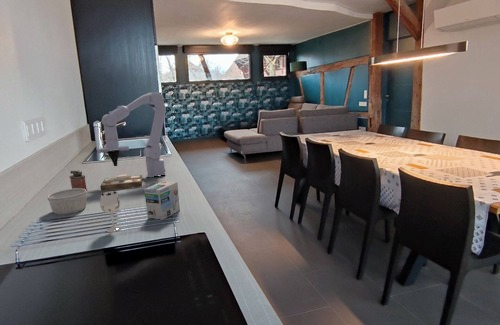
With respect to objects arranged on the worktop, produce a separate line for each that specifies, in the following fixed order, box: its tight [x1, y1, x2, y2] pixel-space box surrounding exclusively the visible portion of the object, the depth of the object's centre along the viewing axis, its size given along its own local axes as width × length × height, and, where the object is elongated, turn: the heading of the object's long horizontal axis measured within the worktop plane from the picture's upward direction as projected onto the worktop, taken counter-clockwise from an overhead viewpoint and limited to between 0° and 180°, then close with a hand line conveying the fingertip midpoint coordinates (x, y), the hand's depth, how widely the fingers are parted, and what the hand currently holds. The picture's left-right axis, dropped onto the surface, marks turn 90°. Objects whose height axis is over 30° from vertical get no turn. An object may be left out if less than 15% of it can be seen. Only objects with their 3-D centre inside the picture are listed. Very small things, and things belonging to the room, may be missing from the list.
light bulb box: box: [143, 180, 181, 221], centre depth 119 cm, size 11×7×11 cm, turn 157°
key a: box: [130, 174, 141, 180], centre depth 167 cm, size 4×4×3 cm
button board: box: [99, 174, 144, 192], centre depth 164 cm, size 18×15×2 cm
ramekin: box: [47, 188, 88, 216], centre depth 130 cm, size 13×13×7 cm
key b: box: [117, 173, 128, 181], centre depth 166 cm, size 4×4×3 cm
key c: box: [104, 177, 115, 182], centre depth 164 cm, size 4×4×3 cm
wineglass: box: [99, 190, 122, 233], centre depth 107 cm, size 6×6×12 cm
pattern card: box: [101, 179, 140, 185], centre depth 160 cm, size 17×4×1 cm, turn 106°
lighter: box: [69, 170, 88, 192], centre depth 157 cm, size 8×3×10 cm, turn 71°
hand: (115, 165), depth 169 cm, fingers closed
